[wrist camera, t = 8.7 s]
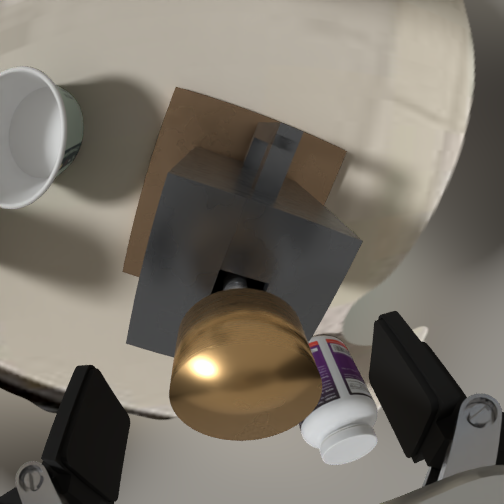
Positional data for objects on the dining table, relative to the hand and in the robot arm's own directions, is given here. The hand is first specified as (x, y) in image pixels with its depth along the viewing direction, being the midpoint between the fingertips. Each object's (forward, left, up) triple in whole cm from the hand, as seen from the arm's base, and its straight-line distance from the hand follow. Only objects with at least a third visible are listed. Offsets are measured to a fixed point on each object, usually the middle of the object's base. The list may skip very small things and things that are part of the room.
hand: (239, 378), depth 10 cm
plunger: (0, 0, -20) cm, 20 cm away
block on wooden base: (0, 0, -21) cm, 21 cm away
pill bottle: (+14, +16, -21) cm, 30 cm away
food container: (-2, -20, -21) cm, 29 cm away
